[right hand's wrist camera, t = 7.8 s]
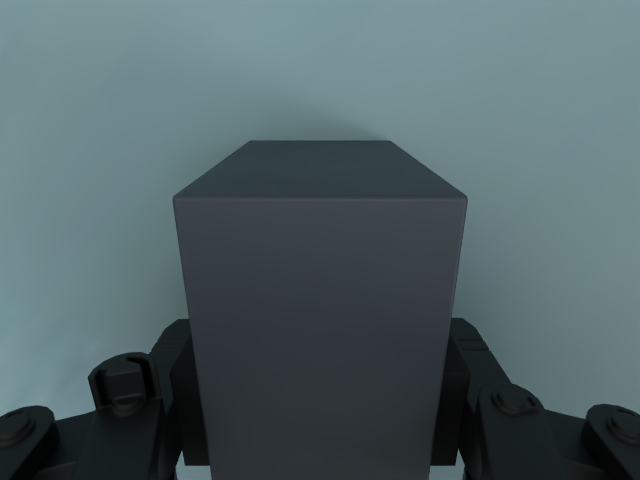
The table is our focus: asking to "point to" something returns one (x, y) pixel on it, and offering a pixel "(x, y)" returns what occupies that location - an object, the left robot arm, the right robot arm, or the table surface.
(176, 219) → the beam
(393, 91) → the table surface
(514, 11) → the table surface
